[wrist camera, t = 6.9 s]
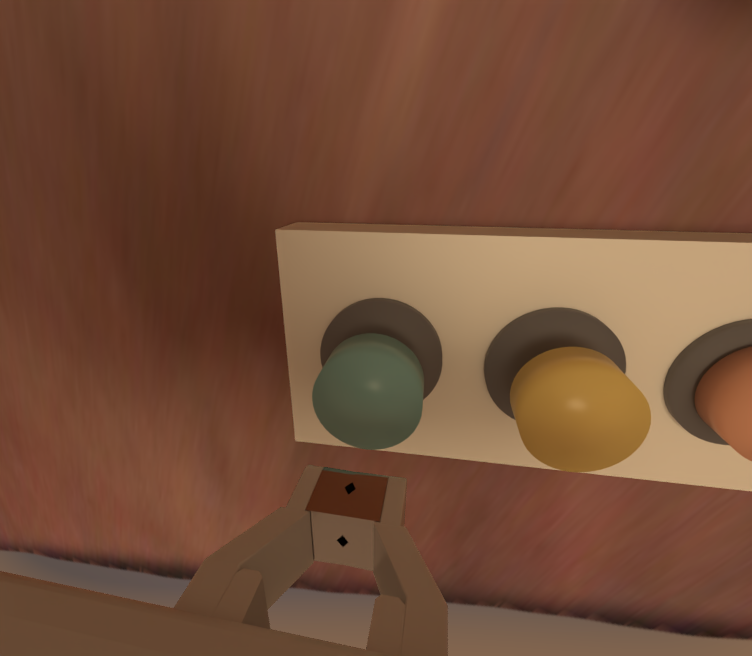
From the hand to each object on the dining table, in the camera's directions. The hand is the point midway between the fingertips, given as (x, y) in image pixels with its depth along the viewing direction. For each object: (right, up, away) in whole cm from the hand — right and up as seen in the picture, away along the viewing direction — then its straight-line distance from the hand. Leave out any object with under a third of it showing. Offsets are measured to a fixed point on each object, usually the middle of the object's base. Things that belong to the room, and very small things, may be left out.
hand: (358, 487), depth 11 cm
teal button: (0, +2, +5) cm, 6 cm away
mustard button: (+8, +2, +4) cm, 10 cm away
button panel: (+9, +4, +9) cm, 14 cm away
